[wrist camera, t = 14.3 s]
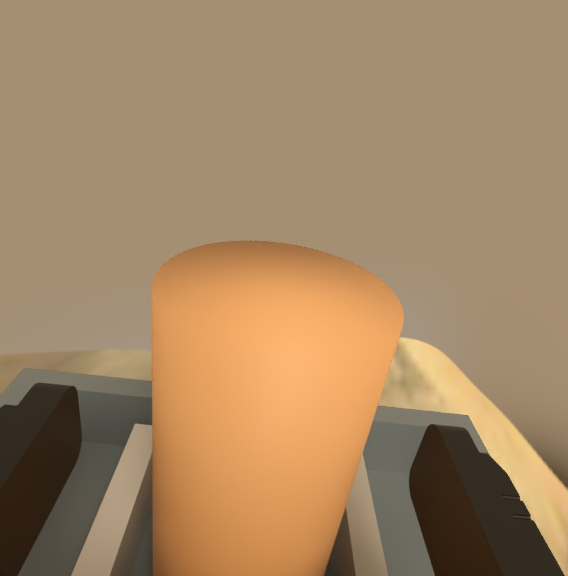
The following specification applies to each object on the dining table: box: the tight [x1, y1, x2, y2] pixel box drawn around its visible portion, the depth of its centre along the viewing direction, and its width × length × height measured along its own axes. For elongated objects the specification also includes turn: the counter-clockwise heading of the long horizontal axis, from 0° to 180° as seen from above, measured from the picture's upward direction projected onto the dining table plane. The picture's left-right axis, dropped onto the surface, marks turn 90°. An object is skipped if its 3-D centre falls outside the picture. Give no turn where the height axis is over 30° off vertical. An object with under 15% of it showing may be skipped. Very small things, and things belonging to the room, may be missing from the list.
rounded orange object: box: [152, 241, 404, 576], centre depth 11 cm, size 5×5×12 cm
